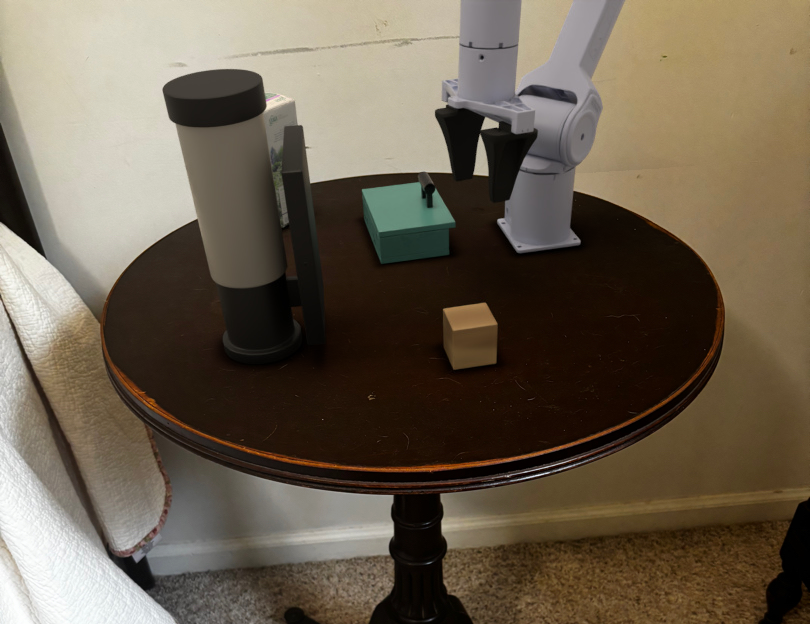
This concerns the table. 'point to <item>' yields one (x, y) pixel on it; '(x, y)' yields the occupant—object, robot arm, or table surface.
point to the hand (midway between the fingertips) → (480, 189)
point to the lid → (407, 208)
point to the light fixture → (249, 213)
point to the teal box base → (407, 243)
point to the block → (470, 336)
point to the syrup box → (278, 141)
